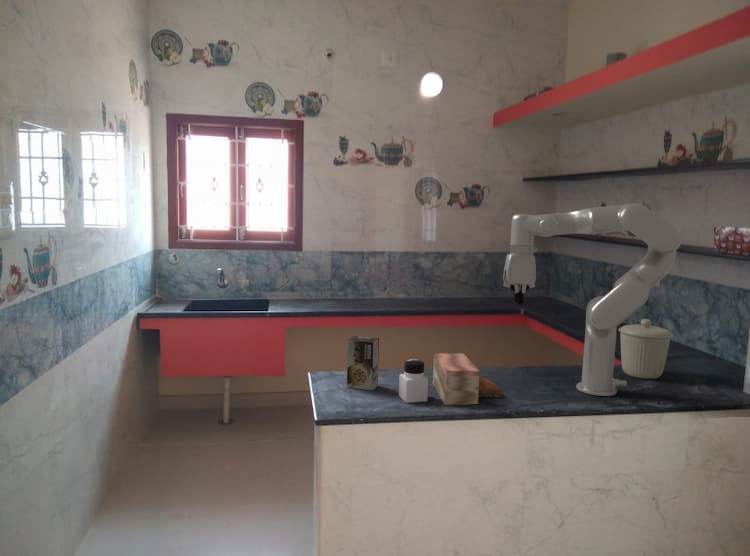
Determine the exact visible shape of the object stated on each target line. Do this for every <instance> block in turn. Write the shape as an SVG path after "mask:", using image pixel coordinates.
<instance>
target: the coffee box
mask: <svg viewBox="0 0 750 556" xmlns="http://www.w3.org/2000/svg"><path fill="white" fill-rule="evenodd" d="M346 344H347V351H346V352H347V357H346V358H347V359H346V360H347V361H346V362H347V366H346V370H347V371H346V388H349V389H355V390H356V389H357V390H364V391H366V390H367V391H374V390H375V389H376V388H377V387H378V386H379V350H380V349H379V348H380V347H379V346H380V338H379V337H372V336H362V335H361V336H358V335H353V336H352V337H350V338H348V339H347V342H346Z"/></svg>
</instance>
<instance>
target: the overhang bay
mask: <svg viewBox="0 0 750 556" xmlns="http://www.w3.org/2000/svg"><path fill="white" fill-rule="evenodd" d="M432 370H433V371H432V372H433V374H432V375H433V376H432V385H433V386H434V388H435V390H436V391H437V393H438V395H439V397H440V398H441V401H442V402H443V403H444V405H445V406H449V405H450V406H451V405H453V406H455V405H456V406H470V405H469V404H478V405H479V398H478V393H479V377H480V372H481V371H480V370H479V368H477V366H476V365H474V363H473V362H472V361H471V360H470V359H469V357H467V356H466V354H464V353H437V352H436V353H433V369H432ZM467 404H468V405H467Z"/></svg>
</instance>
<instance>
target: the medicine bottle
mask: <svg viewBox="0 0 750 556" xmlns="http://www.w3.org/2000/svg"><path fill="white" fill-rule="evenodd" d="M403 367H404V369H403V370H404V372H403V373H399V376H398V377H399V378H398V380H399V381H398V396H399V397H400V398H401V400H403V402H405V404H410V403H426V402H429V400H428V398H429V381H430V380H429V378H428V377H426V376H425V375H424V374H425V363H424V361H422V360H419V359H415V358H414V359H408V360H405V361H404V366H403Z"/></svg>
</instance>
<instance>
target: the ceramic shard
mask: <svg viewBox="0 0 750 556" xmlns="http://www.w3.org/2000/svg"><path fill="white" fill-rule="evenodd" d="M503 394H504V393H503V391H502V389H501V388H500V387H499V386H498V385H497V384H496V383H494V382H493V381H491V380H489V379H487V378H485V377H483V376H479V393H478V399H479V398H482V397H483V398H502V396H503Z"/></svg>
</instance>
